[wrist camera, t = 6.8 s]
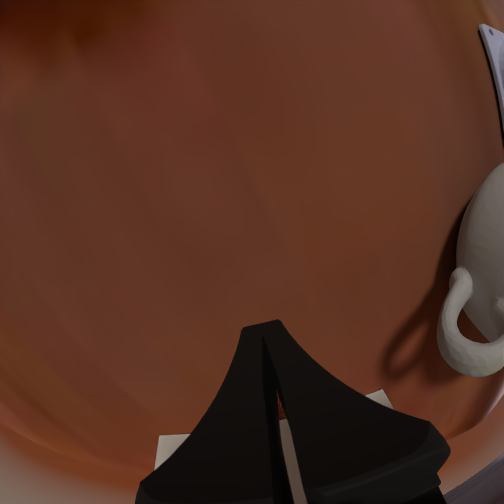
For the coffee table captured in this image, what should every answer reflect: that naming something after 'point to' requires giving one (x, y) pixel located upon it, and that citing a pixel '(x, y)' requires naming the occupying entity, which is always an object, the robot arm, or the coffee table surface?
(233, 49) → the coffee table surface
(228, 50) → the coffee table surface
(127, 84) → the coffee table surface
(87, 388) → the coffee table surface
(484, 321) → the teacup
